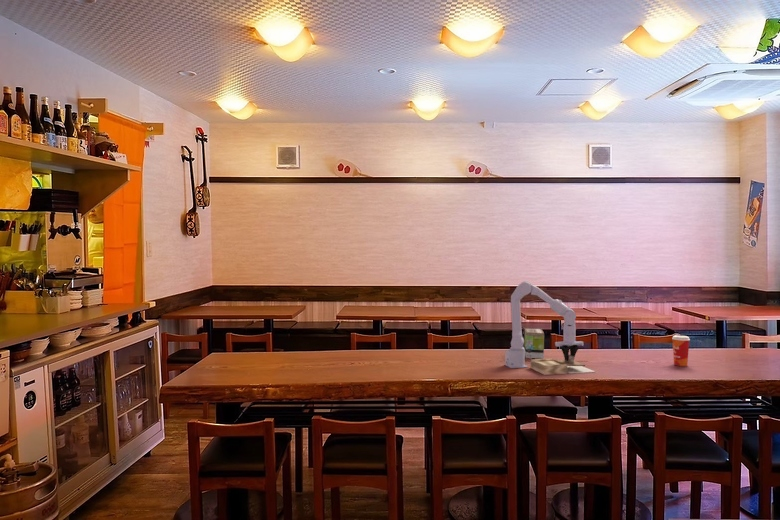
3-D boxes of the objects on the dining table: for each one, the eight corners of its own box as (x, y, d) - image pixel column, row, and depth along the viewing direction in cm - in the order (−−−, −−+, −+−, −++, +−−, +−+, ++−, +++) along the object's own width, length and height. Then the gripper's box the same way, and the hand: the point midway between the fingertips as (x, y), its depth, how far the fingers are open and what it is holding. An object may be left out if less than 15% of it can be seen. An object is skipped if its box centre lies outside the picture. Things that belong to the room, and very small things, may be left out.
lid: (565, 365, 244) (565, 357, 244) (553, 360, 255) (554, 352, 255) (585, 366, 246) (585, 357, 246) (572, 361, 257) (573, 353, 257)
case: (544, 374, 241) (544, 365, 241) (530, 368, 255) (530, 359, 255) (567, 373, 243) (567, 364, 243) (552, 367, 257) (552, 358, 257)
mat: (568, 373, 243) (568, 372, 243) (554, 367, 257) (554, 366, 257) (595, 372, 246) (595, 371, 246) (579, 365, 259) (579, 365, 259)
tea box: (544, 359, 276) (544, 332, 275) (525, 358, 278) (525, 332, 277) (541, 353, 290) (541, 328, 290) (523, 353, 292) (523, 327, 292)
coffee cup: (670, 362, 266) (670, 334, 266) (687, 363, 264) (688, 335, 263) (673, 366, 259) (673, 337, 258) (691, 367, 256) (691, 338, 256)
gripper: (560, 335, 245) (560, 362, 246) (587, 334, 248) (587, 361, 248) (553, 332, 252) (552, 359, 252) (579, 331, 255) (579, 358, 255)
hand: (569, 360), depth 251 cm, fingers closed on lid, 2 cm apart
